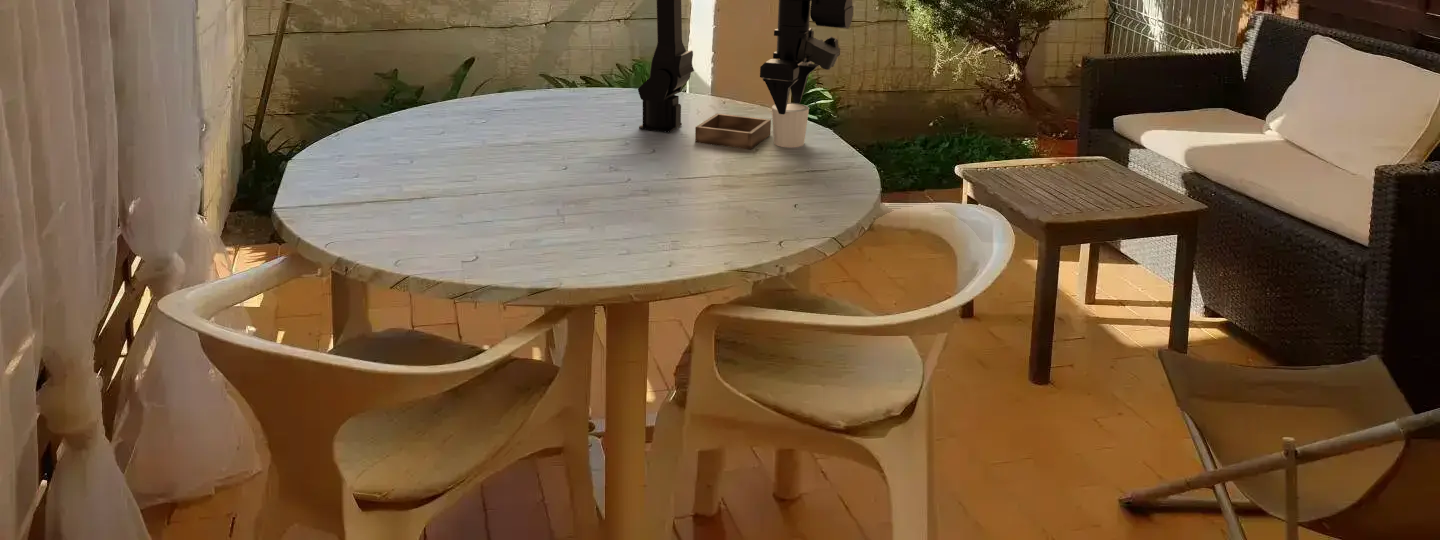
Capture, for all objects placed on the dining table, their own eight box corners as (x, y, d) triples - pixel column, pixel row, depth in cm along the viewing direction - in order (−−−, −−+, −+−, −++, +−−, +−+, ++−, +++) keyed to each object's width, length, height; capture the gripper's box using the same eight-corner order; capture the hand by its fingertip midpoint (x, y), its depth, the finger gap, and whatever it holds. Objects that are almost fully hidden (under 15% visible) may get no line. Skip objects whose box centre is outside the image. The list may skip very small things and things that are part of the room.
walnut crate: (695, 142, 234) (695, 126, 233) (716, 128, 244) (716, 113, 243) (751, 149, 231) (751, 133, 230) (770, 135, 240) (770, 119, 239)
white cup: (808, 139, 238) (809, 103, 236) (806, 149, 232) (808, 112, 229) (771, 137, 239) (773, 101, 236) (769, 147, 232) (770, 110, 230)
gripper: (821, 36, 216) (817, 125, 222) (850, 19, 233) (845, 102, 238) (760, 30, 220) (757, 118, 226) (792, 14, 236) (789, 96, 242)
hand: (789, 108), depth 233 cm, fingers open, 9 cm apart
